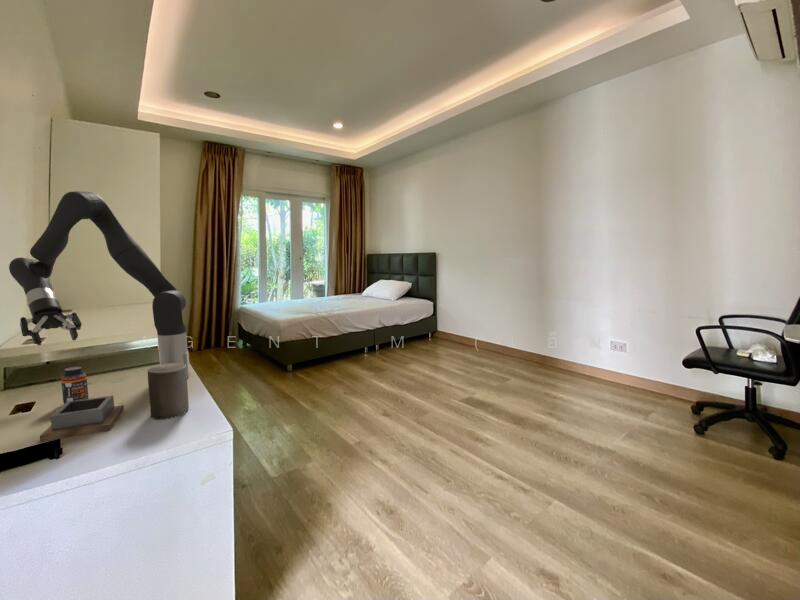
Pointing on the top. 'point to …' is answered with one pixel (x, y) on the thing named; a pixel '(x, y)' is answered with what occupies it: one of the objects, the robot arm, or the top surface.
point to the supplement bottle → (74, 385)
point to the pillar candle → (168, 390)
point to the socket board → (83, 427)
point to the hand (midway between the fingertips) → (57, 341)
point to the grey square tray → (82, 413)
